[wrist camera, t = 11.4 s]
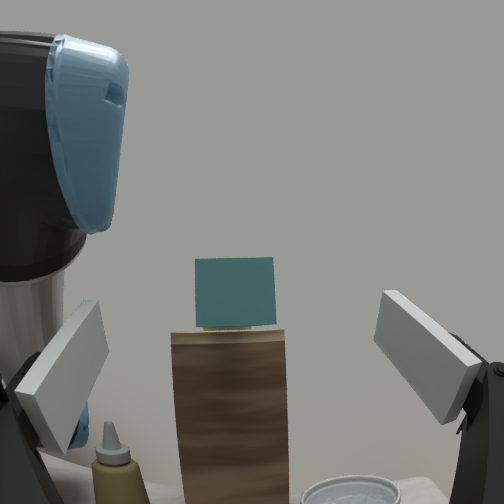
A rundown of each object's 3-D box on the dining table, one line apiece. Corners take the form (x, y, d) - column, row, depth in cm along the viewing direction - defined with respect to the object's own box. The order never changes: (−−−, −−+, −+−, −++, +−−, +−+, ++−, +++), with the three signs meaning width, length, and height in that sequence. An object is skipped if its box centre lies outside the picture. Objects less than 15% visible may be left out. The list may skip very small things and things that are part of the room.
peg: (293, 329, 14) (288, 250, 15) (179, 333, 13) (178, 252, 14) (248, 329, 36) (247, 298, 37) (204, 330, 36) (204, 299, 36)
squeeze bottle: (127, 551, 23) (101, 436, 28) (91, 526, 27) (67, 419, 31) (168, 530, 30) (152, 424, 35) (131, 511, 34) (114, 412, 38)
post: (289, 547, 27) (284, 329, 34) (194, 552, 25) (170, 332, 32) (274, 506, 38) (267, 329, 45) (198, 510, 37) (183, 331, 44)
